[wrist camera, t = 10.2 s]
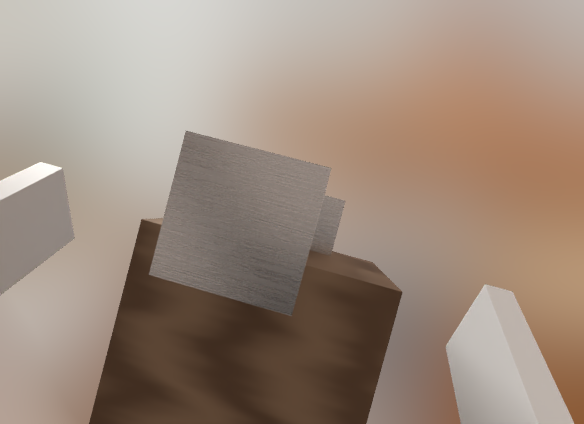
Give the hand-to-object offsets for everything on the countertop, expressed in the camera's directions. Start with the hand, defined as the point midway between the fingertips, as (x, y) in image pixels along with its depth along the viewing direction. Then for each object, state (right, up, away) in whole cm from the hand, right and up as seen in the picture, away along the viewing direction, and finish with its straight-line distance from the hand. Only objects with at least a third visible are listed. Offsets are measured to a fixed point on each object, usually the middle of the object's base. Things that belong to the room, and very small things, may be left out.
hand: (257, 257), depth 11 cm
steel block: (0, -1, +8) cm, 8 cm away
